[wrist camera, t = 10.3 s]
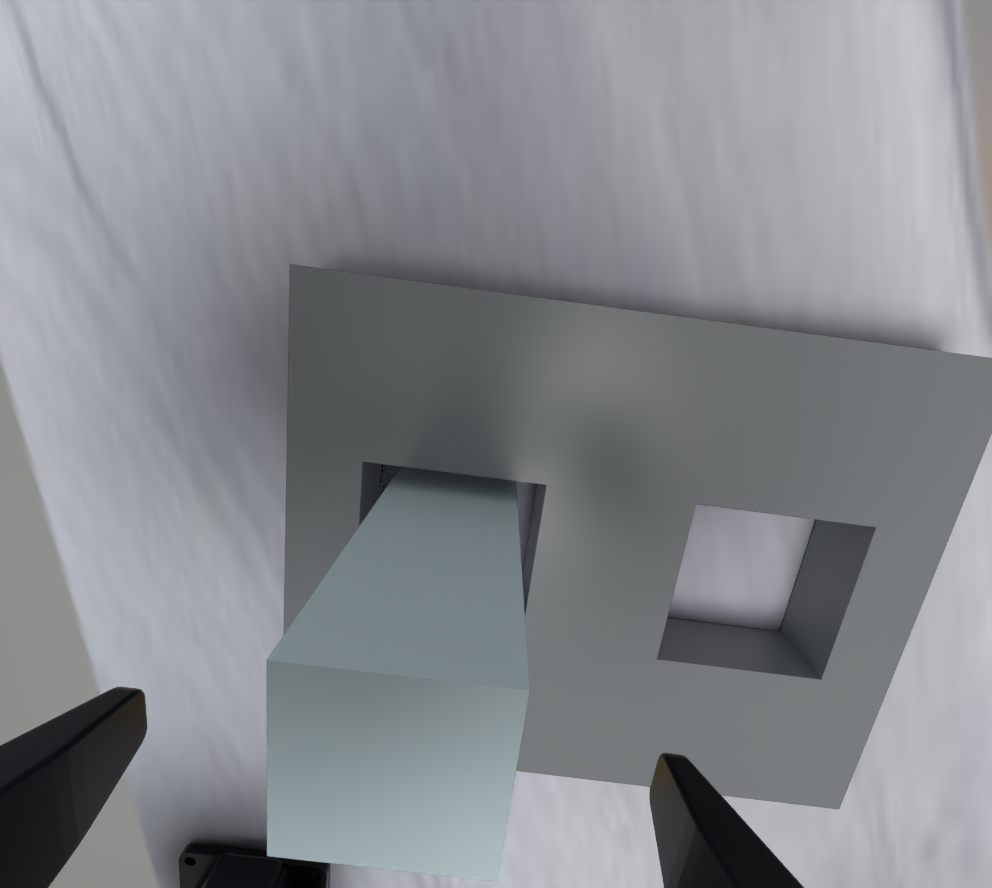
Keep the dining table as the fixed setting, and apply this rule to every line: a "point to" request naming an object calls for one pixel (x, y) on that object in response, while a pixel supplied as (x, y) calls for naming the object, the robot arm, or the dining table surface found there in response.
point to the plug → (405, 687)
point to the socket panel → (648, 506)
